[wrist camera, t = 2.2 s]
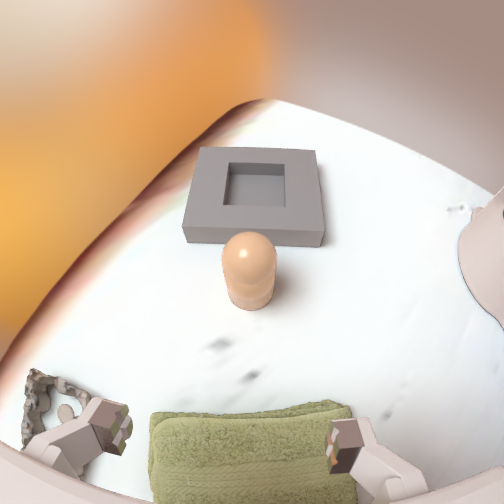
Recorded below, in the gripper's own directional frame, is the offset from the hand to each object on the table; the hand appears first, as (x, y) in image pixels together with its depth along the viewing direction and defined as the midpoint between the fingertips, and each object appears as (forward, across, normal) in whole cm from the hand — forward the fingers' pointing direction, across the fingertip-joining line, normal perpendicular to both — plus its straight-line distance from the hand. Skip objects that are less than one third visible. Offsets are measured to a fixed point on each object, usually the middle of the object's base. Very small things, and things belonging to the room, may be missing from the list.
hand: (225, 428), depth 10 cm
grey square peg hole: (+27, 0, -6) cm, 28 cm away
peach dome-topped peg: (+19, 0, +2) cm, 19 cm away
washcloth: (+7, -1, +15) cm, 16 cm away
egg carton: (+8, +17, +14) cm, 24 cm away
